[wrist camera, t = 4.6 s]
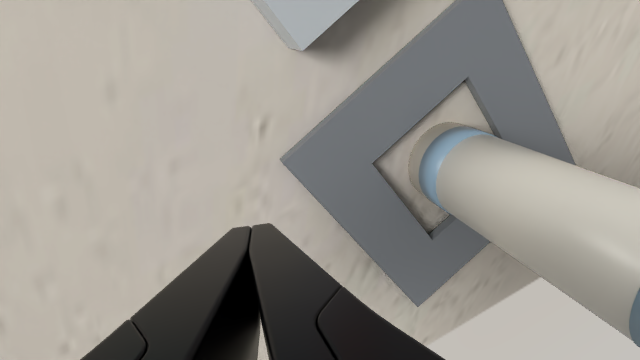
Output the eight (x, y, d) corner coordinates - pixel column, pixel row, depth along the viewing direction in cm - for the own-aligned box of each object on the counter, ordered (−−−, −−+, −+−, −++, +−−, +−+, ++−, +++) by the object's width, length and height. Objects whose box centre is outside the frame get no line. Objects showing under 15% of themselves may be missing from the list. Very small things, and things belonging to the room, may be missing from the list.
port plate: (413, 301, 27) (417, 307, 27) (279, 159, 21) (282, 162, 20) (567, 161, 27) (575, 164, 27) (482, -24, 21) (490, -26, 20)
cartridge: (432, 212, 25) (681, 397, 13) (393, 160, 23) (648, 322, 10) (488, 161, 25) (793, 296, 13) (454, 104, 23) (783, 200, 10)
